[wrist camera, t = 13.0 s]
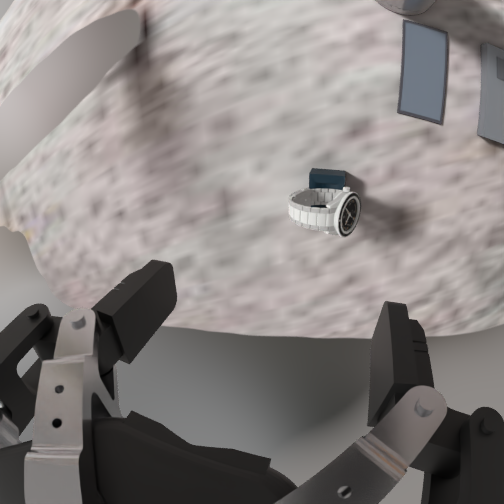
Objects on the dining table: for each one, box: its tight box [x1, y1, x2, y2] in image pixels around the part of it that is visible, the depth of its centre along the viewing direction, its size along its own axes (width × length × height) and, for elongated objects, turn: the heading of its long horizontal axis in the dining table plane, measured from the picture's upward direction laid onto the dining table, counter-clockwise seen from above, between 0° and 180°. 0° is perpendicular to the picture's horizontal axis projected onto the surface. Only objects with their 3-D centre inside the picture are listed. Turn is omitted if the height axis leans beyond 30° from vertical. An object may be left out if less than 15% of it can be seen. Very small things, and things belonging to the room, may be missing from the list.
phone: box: [397, 19, 447, 124], centre depth 26 cm, size 6×13×1 cm, turn 177°
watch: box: [289, 168, 361, 237], centre depth 33 cm, size 6×8×11 cm
